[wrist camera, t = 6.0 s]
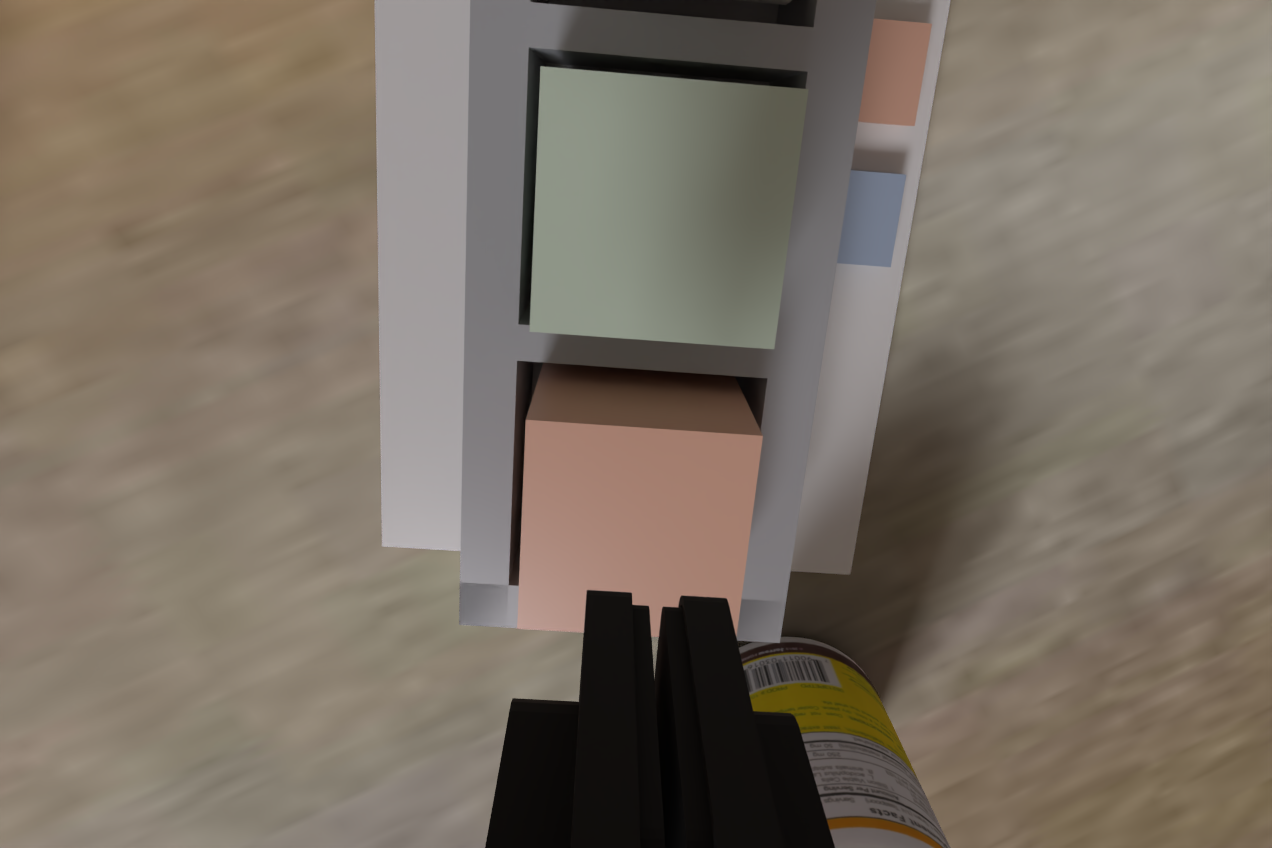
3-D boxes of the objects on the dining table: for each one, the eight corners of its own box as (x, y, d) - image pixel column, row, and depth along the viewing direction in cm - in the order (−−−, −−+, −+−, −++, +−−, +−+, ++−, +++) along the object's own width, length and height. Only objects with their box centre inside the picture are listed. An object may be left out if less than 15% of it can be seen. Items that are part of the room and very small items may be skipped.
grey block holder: (379, -700, 16) (277, -1056, 11) (1040, -617, 16) (1215, -923, 12) (391, 529, 23) (334, 631, 19) (841, 556, 24) (896, 663, 19)
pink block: (547, 348, 20) (525, 419, 15) (727, 361, 20) (762, 435, 15) (539, 514, 21) (517, 628, 16) (708, 524, 21) (735, 641, 16)
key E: (560, 81, 18) (540, 66, 13) (757, 98, 18) (808, 89, 13) (550, 280, 19) (529, 331, 14) (735, 294, 19) (774, 349, 14)
